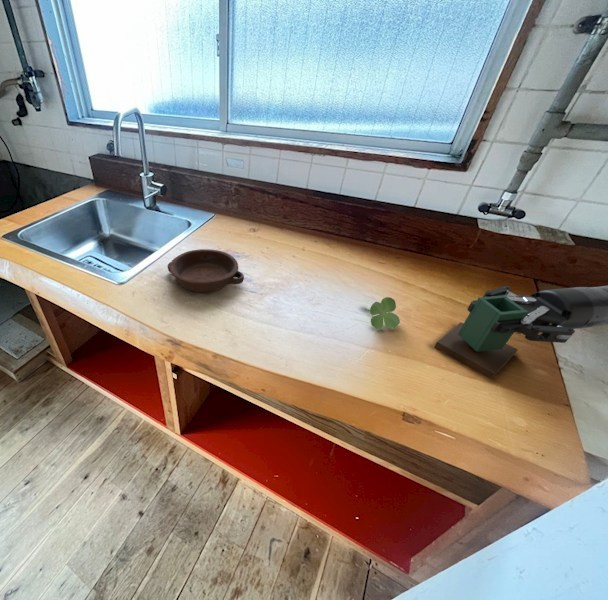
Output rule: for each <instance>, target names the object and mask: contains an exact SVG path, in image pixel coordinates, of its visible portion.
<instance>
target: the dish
mask: <svg viewBox="0 0 608 600" xmlns="http://www.w3.org/2000/svg"><path fill="white" fill-rule="evenodd" d="M166 266H167V271H168V273H170V274H171V276H173V277H174V278H175V280H176V282H177V283H178V284H179V285H180V287H182V288H184V289H185V290H187V291H191V292H195V293H208V292H213V291H217V290H220V289H222V288H224V287H226V286H227V285H240V284H242V283H244V280H245V275H244V273H243V272H241V271H239V263H238V260H237V259H236V258H235V257H234V256H232V255H231V254H230V253H228V252H225V251H222V250H217V249H208V248H203V249H201V248H200V249H193V250H188V251H185V252H183V253H180V254H179V255H177V256H176V257H174V258H173V259H172V260H171V261H170V262H169V263H168V264H167V265H166Z"/></svg>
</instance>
